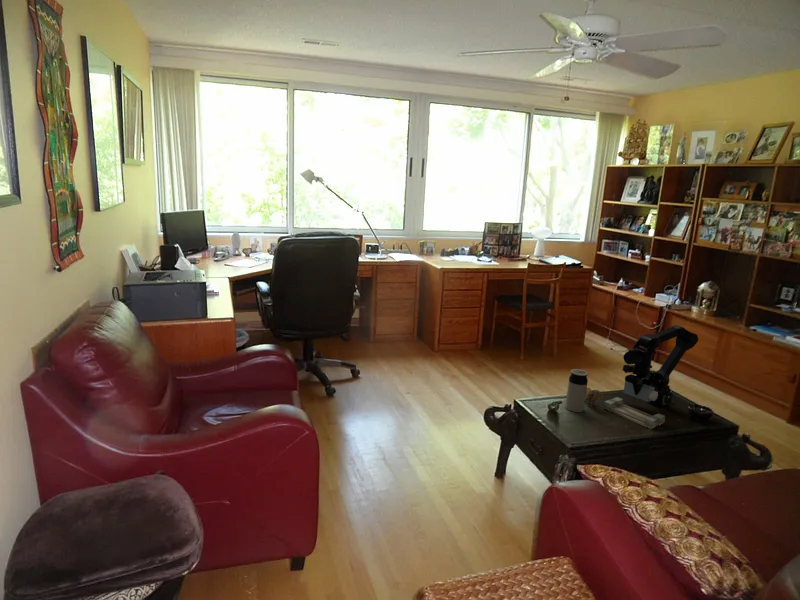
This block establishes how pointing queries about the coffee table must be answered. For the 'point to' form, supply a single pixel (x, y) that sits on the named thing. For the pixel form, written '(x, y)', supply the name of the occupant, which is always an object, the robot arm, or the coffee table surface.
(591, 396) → the lion figurine
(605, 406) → the cradle
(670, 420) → the coffee table surface
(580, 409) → the travel mug
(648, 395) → the slate grey rectangular prism
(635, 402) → the coffee table surface
